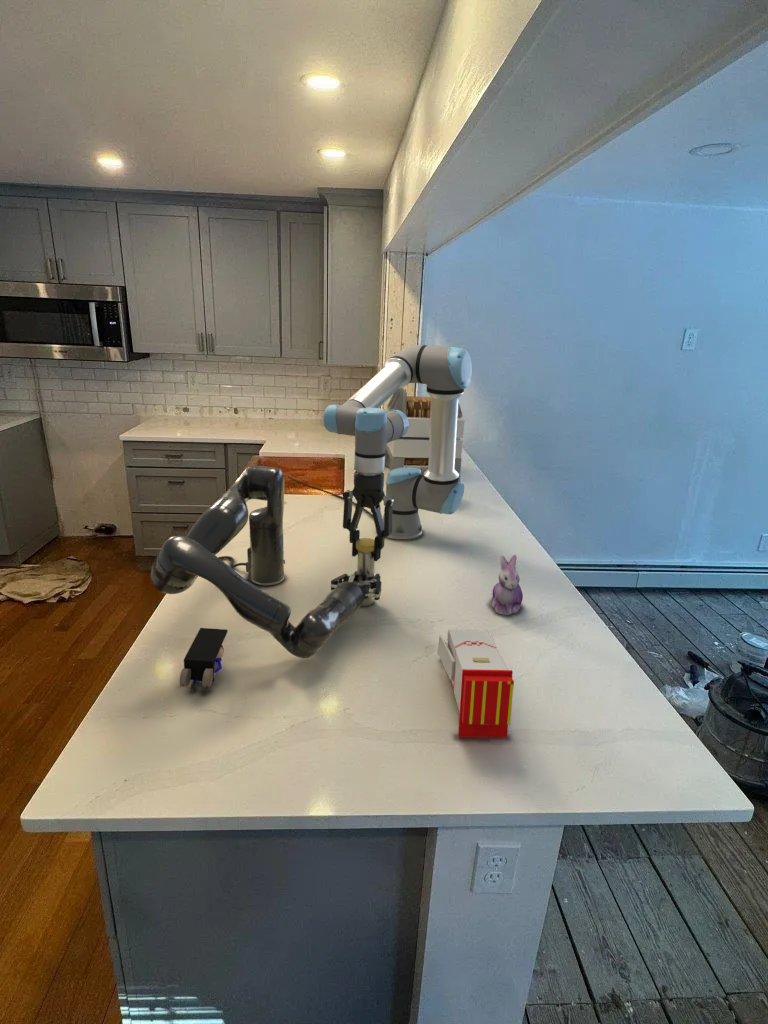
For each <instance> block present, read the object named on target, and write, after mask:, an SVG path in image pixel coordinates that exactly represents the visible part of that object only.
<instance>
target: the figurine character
mask: <svg viewBox="0 0 768 1024" xmlns="http://www.w3.org/2000/svg"><path fill="white" fill-rule="evenodd" d="M227 634H228V629H223V628H211V627H200V628H199V630H198V631H197V633H196V635H195V637H194V639H193V641H192V642H191V644H190V647H189V648H188V650H187V653H186V654H185V656H184V658H183V668H182V670H181V672H180V675H179V682H178V684H179V686H180V687H186V688H188V687H189V685H190V683H191V685H190V687H189V690H190V692H192V691H194V690H195V688H196V685H197V682H198V683H202V687H204V689H203V691H204V692H206V691H208V690H209V688H210V687H212V684H213V682H215V676H216V675H217V674H218V673H219V672H220V671H221V670H222V668H223V666H222V661H223V659H222V658H223V656H224V654H225V648H224V645H223V643H224V641H225V639H226V636H227ZM216 663H217V667H216V668H215V665H216ZM191 681H192V682H191Z"/></svg>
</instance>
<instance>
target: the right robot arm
mask: <svg viewBox="0 0 768 1024" xmlns="http://www.w3.org/2000/svg"><path fill="white" fill-rule="evenodd" d="M472 376H473V365H472V359H471V356H470V354H469V352H468V351H467V350H466V349H465V348H461V347H455V346H448V345H447V346H446V345H430V344H429V345H428V344H416V345H411V346H408V347H405V348H403V349H401V350H400V351H398V352H396V353H394V354H393V355H392V356H390V357H389V358H388V359H386V361H385V362H384V363H383V365H382V369H381V370H379V371H378V372H377V373H375V375H374V376H372V378H370V379H369V380H368V381H367V382H366V383H365V384H364V385H363V386H361V388H359V389H358V390H357V391H356V392H355V393H354V394H353V395H352V396H350V398H348V399H347V400H346V401H345V402H344V403H343V404H338V403H337V404H329V405H328V406H327V407H326V408H325V410H324V413H323V418H322V419H323V427H324V428H325V430H326V431H328V432H330V433H333V434H337V435H344V436H351V437H354V462H353V463H354V464H353V467H354V468H353V470H354V473H353V489H352V490H350V489H347V490H345V491H343V492H342V496H341V495H339V494H335V493H334V492H331V491H328V490H325V489H322V488H318V487H315V486H313V485H310V484H307V483H304V482H302V481H299V480H297V479H295V478H293V477H291V476H287V478H288V479H289V480H291V481H293V482H296V483H298V484H300V485H302V486H306V487H308V488H311V489H313V490H317V491H319V492H323V493H326V494H329V495H332V496H334V497H337V498H339V499H341V500H343V515H342V516H343V517H342V528H343V529H344V530H348V532H349V538H348V539H349V543H350V544H351V557H352V558H353V557H354V558H356V556H358V550H357V549H356V541H357V540H358V539H360V535H361V534H360V531H361V530H360V529H359V523H360V521H361V517H362V515H363V511H364V512H365V513H366V514H367V515H369V516H370V517H372V518H373V522H374V527H375V530H376V536H375V537H374V539H375V542H374V561H375V562H378V561H379V560H380V559H381V555H382V549H383V548H384V547H385V541H386V540H385V539H386V538H387V539H389V540H395V541H410V540H415V539H418V538H420V537H421V536H422V535H423V525H422V524H421V518H420V515H419V510H423V511H427V512H432V513H437V514H440V515H442V514H444V515H453V514H454V513H456V512H457V510H458V509H459V507H460V505H461V502H462V500H463V496H464V493H465V483H464V481H462V480H460V481H459V474H458V472H457V471H456V470H455V452H456V435H457V418H458V402H460V401H459V398H460V397H461V396H462V395H463V394H464V393H465V389H467V388H469V386H470V385H471V381H472ZM409 384H420V385H421V384H422V385H426V393H427V394H428V395H429V397H431V413H430V440H429V465H428V466H427V469H426V470H424V472H423V474H422V470H421V468H419V467H415V466H411V467H410V466H406V467H405V466H404V468H397V469H393V470H391V471H390V470H389V471H388V473H387V475H386V480H385V473H384V472H385V467H386V466H385V446H386V443H388V442H391V441H394V440H398V439H399V438H401V437H402V436H404V435H405V434H406V432H407V431H408V427H409V422H408V418H407V417H406V415H405V414H404V413H403V412H401V411H399V410H390V411H387V410H385V409H383V408H381V407H382V406H383V405H384V404H385V403H386V402H387V401H388V400H389V399H391V398H392V396H393V394H394V393H395V392H396V391H397V390H398V389H399V388H405V387H406V386H408V385H409ZM385 481H386V482H385ZM384 487H385V491H384ZM353 498H354V499H355V501H356V502H354V501H353ZM382 501H383V506H384V509H383V510H384V511H383V515H382V507H381V502H382ZM353 505H354V506H355V507H354V513H353ZM366 508H367V509H370V511H369V510H367V509H366ZM352 514H353V515H352Z"/></svg>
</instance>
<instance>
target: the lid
mask: <svg viewBox="0 0 768 1024" xmlns="http://www.w3.org/2000/svg"><path fill="white" fill-rule="evenodd" d="M374 542H375V538H371V537H361V538H359V539H358V540H357V541H356V549H357V550H359V551H362V552H372V551H374Z"/></svg>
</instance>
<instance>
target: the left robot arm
mask: <svg viewBox="0 0 768 1024" xmlns="http://www.w3.org/2000/svg"><path fill="white" fill-rule="evenodd" d="M285 480H286V479H285V474H284V471H283V470H282V469H281V468H279V467H275V466H264V465H250V466H248V467H246V468H245V469H244V470H243V471H242V473H241V474H240V475H239V476H238V478H237V479H236V480H235V481H234V482H233V483H232V485H231V486H230V487H229V488H228V489H227V490H226V491H225V492H224V493H223V494H222V495H221V496H220V497H219V498H218V499H217V500H215V501H214V502H213V503H212V504H210V506H209V507H207V508H206V509H205V510H204V511H203V513H202V514H201V515H200V516H199V518H198V519H197V521H196V522H194V524H193V525H192V527H191V529H190V530H189V532H188V533H187V535H173V536H170V537H169V538H168V539H167V538H166V540H165V541H164V543H163V544H162V546H161V547H160V549H159V550H158V553H157V555H156V556H155V558H154V560H153V562H152V564H151V567H150V573H149V575H150V576H149V577H150V581H151V583H152V585H153V587H154V588H155V589H156V590H157V591H159V592H160V593H161V594H165V595H178V594H181V593H184V592H185V591H187V590H189V589H190V588H191V587H192V586H193V585H194V584H195V582H196V580H198V577H199V578H201V579H203V580H206V581H207V582H209V583H211V584H212V585H213V586H214V587H215V588H217V590H218V591H219V592H221V594H222V595H223V596H224V598H226V600H227V601H228V603H229V604H230V605H231V607H232V608H233V609H234V611H235V612H236V613H237V614H238V615H239V616H240V617H241V618H242V619H244V620H245V621H246V622H249V623H250V624H252V625H254V626H256V627H258V628H259V629H261V630H263V631H265V632H267V633H268V634H270V635H271V636H272V637H273V638H274V639H275V640H276V642H278V643H279V644H280V646H282V647H283V648H284V649H285V650H286V652H288V653H290V654H291V655H292V656H294V657H296V658H299V659H310V658H312V657H313V656H314V655H316V654H317V652H318V651H319V650H320V649H321V648H322V646H323V645H324V644H325V643H326V642H327V641H328V640H329V639H330V637H331V636H332V635H333V634H334V632H335V631H337V630H338V629H339V628H340V627H341V626H342V625H343V624H344V623H345V622H346V621H348V620H349V619H350V617H352V615H353V614H355V612H357V610H358V609H359V608H360V607H361V606H362V605H361V604H362V602H363V601H364V600H365V599H367V598H368V597H373V600H374V601H380V598H381V594H382V583H383V582H382V581H381V578H382V577H381V574H380V573H376V574H374V577H373V578H372V579H371V580H369V581H368V580H366V581H364V582H362V583H359V582H357V570H355V571H354V572H353V573H351V574H350V575H349V574H348V573H343V574H341V575H339V576H337V577H334V578H333V579H331V580H330V590H331V592H329V593H328V594H327V595H326V596H325V598H324V599H323V600H322V601H321V602H320V603H319V604H318V605H317V606H316V607H315V608H313V609H311V610H310V611H309V612H308V613H306V615H304V617H302V619H301V620H300V621H299V622H298V624H297V625H296V626H295V625H293V624H292V623H291V621H290V617H291V616H292V608H291V607H290V605H288V604H287V603H286V602H284V601H281V600H280V599H278V598H277V597H275V596H273V595H271V594H270V593H268V592H265V591H264V590H262V589H261V588H259V587H258V586H274V585H278V584H280V583H281V582H283V581H284V580H285V564H286V560H285V556H284V555H285V551H284V549H285V548H284V514H285V513H284V512H285V489H286V488H285V485H286V484H285V483H286V482H285ZM250 500H257V501H265V502H266V506H264V507H259V508H257V509H254V510H252V511H251V512H250V513H249V509H248V505H247V502H249V501H250ZM247 523H248V524H249V525H248V526H249V528H248V529H249V547H248V548H247V550H246V556H247V561H246V562H238V563H235V564H234V562H235V560H234V557H232V556H229V555H224V556H217V554H218V553H220V552H221V551H222V550H223V549H224V548H225V547H226V546H227V545H228V544H229V543H230V542H231V541H232V540H234V539H235V537H237V535H239V533H241V531H242V530H243V529H244V527H245V526H247ZM223 559H224V560H225V559H227V560H230V565H228V564H227V563H226V562H225V561H223ZM240 566H245V572H246V573H247V577H248V578H247V579H248V580H247V579H246V578H244V577H243V576H242V575H241V574H240V573H238V572H237V571H236V570H234V569H233V568H237V567H240ZM232 567H233V568H232ZM249 580H250V581H251V582H252V583H251V582H250V581H249ZM254 584H256V585H258V586H256V585H254ZM372 590H373V591H372Z"/></svg>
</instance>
